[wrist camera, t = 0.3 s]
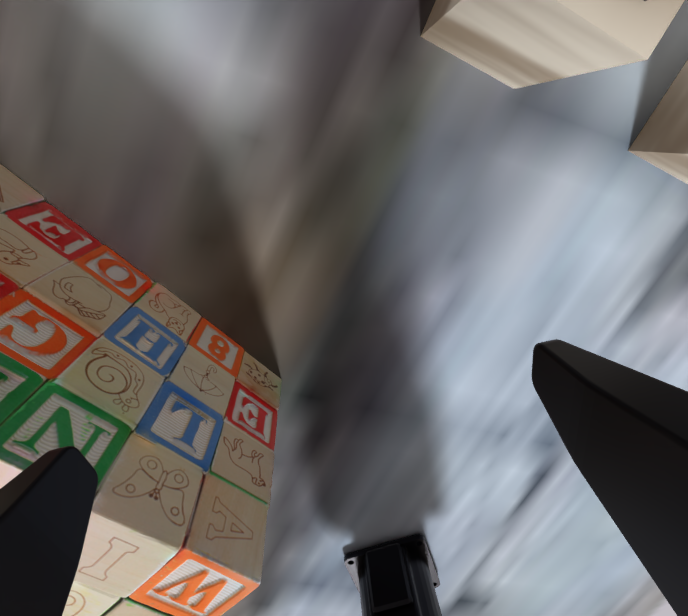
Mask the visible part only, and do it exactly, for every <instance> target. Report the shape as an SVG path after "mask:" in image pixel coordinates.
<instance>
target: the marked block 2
mask: <svg viewBox="0 0 688 616" xmlns="http://www.w3.org/2000/svg"><path fill="white" fill-rule="evenodd" d="M684 1H685V0H436V1H435V4H434V6H433V8H432V11H431V13H430V15H429V18H428V20H427V22H426V25H425V27H424V29H423V32H422V34H421V37H422V38H424V39H426V40H428V41H430V42H431V43H433V44H435V45H437V46H438V47H440V48H442V49H444V50H446V51H447V52H449V53H451V54H453V55H455V56H456V57H458V58H460V59H462V60H463V61H465V62H467V63H469V64H471V65H472V66H474V67H476V68H478V69H479V70H481V71H483V72H485V73H487V74H488V75H490V76H492V77H494V78H495V79H497V80H499V81H501V82H503V83H504V84H506V85H508V86H510V87H512V88H513V89H516V88H520V87H525V86H530V85H534V84H539V83H543V82H548V81H552V80H557V79H562V78H566V77H571V76H575V75H580V74H584V73H589V72H594V71H598V70H603V69H607V68H612V67H616V66H621V65H626V64H630V63H635V62H639V61H644V60H648V58H649V57H650V55H651V54H652V52H653V50H654V49H655V47H656V46H657V44H658V42H659V41H660V39H661V38H662V36H663V34H664V33H665V31H666V30H667V28H668V26H669V25H670V23H671V21H672V20H673V18H674V17H675V15H676V13H677V12H678V10H679V9H680V7H681V5H682V4H683V2H684Z"/></svg>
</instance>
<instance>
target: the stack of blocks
mask: <svg viewBox="0 0 688 616" xmlns="http://www.w3.org/2000/svg"><path fill="white" fill-rule="evenodd" d="M281 381H282V380H281V379H280V378H279V377H278V376H277V375H275V374H274V373H273V372H271V371H270V370H269V369H267V368H266V367H265V366H264V365H262V364H261V363H260V362H258V361H257V360H256V359H255V358H253V357H252V356H251V355H249V354H248V353H247V352H246V351H245V350H244V349H243V348H242V347H241V346H240V345H239V344H237V343H236V342H235V341H233V340H232V339H231V338H229V337H228V336H227V335H226V334H224V333H223V332H222V331H220V330H219V329H218V328H216V327H215V326H214V325H213V324H211V323H210V322H209V321H207V320H206V319H205V318H203V317H202V316H201V315H200V314H198V313H197V312H196V311H195V310H193V309H192V308H191V307H190V306H188V305H187V304H186V303H184V302H183V301H182V300H180V299H179V298H178V297H177V296H175V295H174V294H173V293H171V292H170V291H169V290H167V289H166V288H165V287H164V286H162V285H161V284H159V283H157V282H153V281H152V280H150V279H149V278H148V277H147V276H146V275H145V274H143V273H141V272H140V271H139V270H138V269H136V268H134V267H133V266H132V265H131V264H130V263H129V262H127V261H126V260H125V259H123V258H122V257H121V256H119V255H118V254H117V253H115V252H114V251H113V250H111V249H110V248H109V247H107V246H106V245H103V244H101V243H100V242H99V241H98V240H97V239H95V238H94V237H92V236H91V235H90V234H89V233H88V232H86V231H85V230H84V229H82V228H81V227H80V226H78V225H77V224H76V223H75V222H73V221H72V220H70V219H69V218H67V217H66V216H65V215H64V214H63V213H61V212H60V211H58V210H57V209H56V208H55V207H53V206H52V205H50V204H48V203H47V202H45V199H44V197H43V196H42V195H41V194H39V193H38V192H37V191H35V190H34V189H33V188H31V187H30V186H29V185H27V184H26V183H25V182H23V181H22V180H21V179H19V178H18V177H17V176H15V175H14V174H13V173H12V172H10V171H9V170H8V169H6V168H5V167H4V166H2V165H1V164H0V489H1V488H2V487H3V486H5V485H6V484H7V483H8V482H10V481H11V480H12V479H13V478H15V477H16V476H17V475H18V474H20V473H21V472H22V471H23V470H25V469H26V468H27V467H28V466H30V465H31V464H32V463H33V462H35V461H36V460H37V459H38V458H40V457H41V456H42V455H44V454H45V453H46V452H48V451H50V450H52V449H56V448H61V447H65V446H74V447H76V448H77V449H79V451H80V452H81V453H82V454H83V455H84V457H85V458H86V459H87V460H88V462H89V463H90V464H91V465H92V466H93V468H94V469H95V470H96V472H97V475H98V486H97V490H96V494H95V498H94V503H93V507H92V511H91V515H90V520H89V524H88V528H87V533H86V537H85V541H84V545H83V550H82V554H81V558H80V561H79V565H78V569H77V572H76V575H75V578H74V581H73V584H72V587H71V590H70V593H69V596H68V599H67V602H66V606H65V609H64V612H63V615H62V616H221V615H222V614H223V613H225V612H226V611H227V610H229V609H230V608H231V607H233V606H234V605H235V604H237V603H238V602H239V601H240V600H242V599H243V598H244V597H246V596H247V595H248V594H249V593H251V592H252V591H253V590H254V589H256V588H257V587H258V586H259V585H260V582H261V574H262V563H263V553H264V542H265V531H266V519H267V510H268V508H269V505H270V496H271V490H270V489H271V486H272V474H273V466H274V453H273V452H274V445H275V436H276V426H277V411H278V409H279V403H280V394H281Z"/></svg>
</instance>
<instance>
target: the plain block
mask: <svg viewBox="0 0 688 616" xmlns="http://www.w3.org/2000/svg"><path fill="white" fill-rule="evenodd" d="M628 151H630V152H631V153H633V154H635V155H637V156H638V157H640V158H642V159H644V160H646V161H647V162H649V163H651V164H653V165H654V166H656V167H658V168H660V169H662V170H663V171H665V172H667V173H669V174H670V175H672V176H674V177H676V178H677V179H679V180H681V181H683V182H685V183H686V184H688V60H687V61H686V63H685V64H684V66H683V67H682V69H681V71H680V72H679V74H678V75H677V77H676V78H675V80H674V81H673V83H672V84H671V86H670V87H669V89H668V90H667V92H666V93H665V95H664V96H663V98H662V100H661V101H660V103H659V104H658V106H657V107H656V109H655V110H654V112H653V113H652V115H651V116H650V118H649V119H648V121H647V122H646V124H645V125H644V127H643V129H642V130H641V132H640V133H639V135H638V136H637V138H636V139H635V141H634V142H633V144H632V145H631V147H630V148H629V150H628Z"/></svg>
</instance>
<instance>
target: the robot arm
mask: <svg viewBox="0 0 688 616" xmlns="http://www.w3.org/2000/svg"><path fill="white" fill-rule="evenodd" d="M532 382H533V385H534V388H535V390H536V392H537V394H538V395H539V397H540V399H541V401H542V403H543V405H544V407H545V409H546V411H547V412H548V414H549V416H550V418H551V420H552V422H553V424H554V426H555V428H556V430H557V431H558V433H559V435H560V437H561V439H562V441H563V443H564V445H565V447H566V448H567V450H568V452H569V454H570V455H571V457H572V459H573V461H574V462H575V464H576V465H577V467H578V469H579V470H580V472H581V473H582V475H583V476H584V478H585V479H586V481H587V482H588V484H589V485H590V487H591V488H592V490H593V491H594V492H595V494H596V495H597V497H598V498H599V500H600V501H601V503H602V504H603V506H604V507H605V509H606V510H607V512H608V513H609V515H610V516H611V518H612V519H613V521H614V522H615V524H616V525H617V527H618V528H619V530H620V531H621V533H622V534H623V536H624V537H625V539H626V540H627V542H628V543H629V544H630V546H631V547H632V549H633V550H634V552H635V553H636V555H637V556H638V558H639V559H640V561H641V562H642V564H643V565H644V567H645V568H646V570H647V571H648V573H649V574H650V576H651V577H652V579H653V580H654V582H655V583H656V585H657V586H658V588H659V589H660V591H661V592H662V594H663V595H664V596H665V598H666V599H667V601H668V602H669V604H670V605H671V607H672V608H673V610H674V611H675V613H676V614H677V616H688V392H687V391H685V390H682V389H680V388H678V387H675V386H673V385H670V384H668V383H665V382H663V381H660V380H658V379H655V378H653V377H650V376H648V375H645V374H643V373H640V372H638V371H636V370H633V369H631V368H628V367H626V366H623V365H621V364H618V363H616V362H613V361H611V360H608V359H606V358H603V357H601V356H599V355H596V354H594V353H591V352H589V351H586V350H584V349H581V348H579V347H576V346H574V345H571V344H569V343H566V342H564V341H561V340H557V339H556V340H550V341H545V342H541V343H538V344H536V345H535V347H534V350H533V364H532ZM97 486H98V475H97V472H96V470H95V469H94V468H93V466H92V465H91V464H90V463H89V462H88V460H87V459H86V458H85V457H84V455H83V454H82V453H81V452H80V451H79V449H77V448H76V447H74V446H65V447H61V448H56V449H52V450H50V451H48V452H46V453H45V454H44V455H42V456H41V457H40V458H38V459H37V460H36V461H35V462H33V463H32V464H31V465H30V466H28V467H27V468H26V469H25V470H23V471H22V472H21V473H20V474H18V475H17V476H16V477H15V478H13V479H12V480H11V481H10V482H8V483H7V484H6V485H5V486H3V487H2V488H1V489H0V616H62V615H63V612H64V609H65V606H66V602H67V599H68V596H69V593H70V590H71V587H72V584H73V581H74V578H75V575H76V572H77V569H78V565H79V561H80V558H81V554H82V550H83V545H84V541H85V537H86V533H87V528H88V524H89V520H90V515H91V511H92V507H93V503H94V498H95V494H96V490H97ZM344 561H345V566H346V568H347V569H348V571H349V573H350V575H351V577H352V579H353V581H354V583H355V585H356V587H357V589H358V591H359V593H360V597H361V607H362V616H442V614H441V611H440V607H439V603H438V599H437V596H436V592H435V588H436V587H438V586H439V585H440V581H439V578H438V575H437V572H436V569H435V566H434V564H433V561H432V558H431V555H430V552H429V549H428V546H427V544H426V541H425V538H424V536H423V535H421V534H417V535H413V536H410V537H406V538H403V539H399V540H396V541H392V542H388V543H385V544H381V545H378V546H374V547H371V548H367V549H364V550H360V551H356V552H353V553H349V554H347V555H346V556H345V557H344Z"/></svg>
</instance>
